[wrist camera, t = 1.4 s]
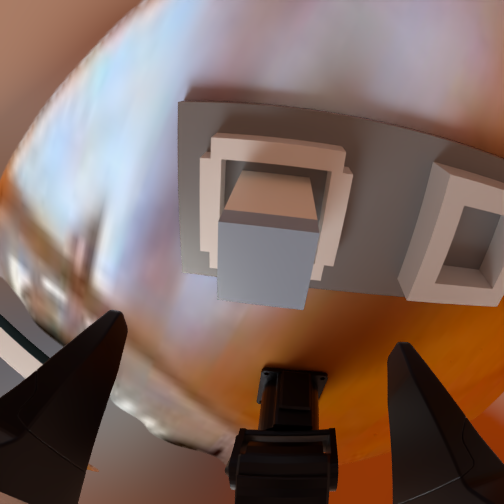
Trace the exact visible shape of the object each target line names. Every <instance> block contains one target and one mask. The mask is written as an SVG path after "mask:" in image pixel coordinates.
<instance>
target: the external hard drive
mask: <svg viewBox="0 0 504 504" xmlns="http://www.w3.org/2000/svg"><path fill="white" fill-rule="evenodd" d="M0 357H1V358H2V359H3V360H4V361H5V362H7V363H8V364H9V365H10V366H11V367H12V368H14V369H15V370H16V371H17V372H18V373H19V374H21V375H22V376H23V377H24V378H25V379H26V378H27V377H28V376H30V375H31V374H32V373H33V372H34V371H37V369H38V368H39V367H40V366H42V365H43V364H44V363H45V362H46V361H48V360H49V359H50V358H49V357H48V356H47V355H46V354H44V353H43V352H42V351H41V350H39V349H38V348H37V347H36V346H35V345H34V344H32V343H31V342H30V341H29V340H28V339H26V337H24V336H23V335H22V334H21V333H20V332H19V331H18V330H17V329H16V328H15V327H13V326H12V325H11V324H10V323H9V322H8V321H7V320H6V319H5V318H4V317H3V316H2V315H0ZM105 409H106V408H105Z"/></svg>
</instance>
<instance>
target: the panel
mask: <svg viewBox="0 0 504 504" xmlns="http://www.w3.org/2000/svg"><path fill="white" fill-rule="evenodd" d="M242 170H244V171H255V172H265V173H274V174H283V175H292V176H300V177H308V178H310V182H311V187H312V192H313V198H314V203H315V209H316V214H317V220H318V226H319V232H320V234H319V240H318V245H317V250H316V255H315V260H314V264H313V269H312V274H311V279H310V283H309V288H316V289H326V290H335V291H345V292H356V293H366V294H377V295H388V296H399V297H405V298H406V300H407V301H417V302H430V303H445V304H460V305H476V306H494V307H497V306H498V304H499V302H500V300H501V298H502V297H503V295H504V158H501V157H499V156H496V155H493V154H491V153H488V152H485V151H482V150H480V149H477V148H474V147H471V146H468V145H465V144H462V143H459V142H456V141H453V140H449V139H446V138H443V137H439V136H436V135H432V134H429V133H425V132H422V131H418V130H414V129H410V128H406V127H402V126H398V125H394V124H389V123H385V122H380V121H376V120H371V119H366V118H361V117H355V116H350V115H344V114H339V113H332V112H326V111H319V110H312V109H305V108H297V107H288V106H279V105H269V104H257V103H243V102H223V101H180V102H178V194H179V222H180V242H181V259H182V272H183V273H191V274H198V275H206V276H214V277H217V263H218V221H219V219H220V217H221V214H222V212H223V210H224V208H225V206H226V204H227V201H228V199H229V197H230V195H231V193H232V191H233V189H234V187H235V184H236V182H237V180H238V178H239V176H240V174H241V172H242Z"/></svg>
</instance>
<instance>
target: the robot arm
mask: <svg viewBox="0 0 504 504" xmlns="http://www.w3.org/2000/svg"><path fill="white" fill-rule="evenodd" d="M127 333H128V328H127V325H126V322H125V319H124V315H123V313H122V312H120V311H116V310H110V311H108V312H107V313H105V314H104V315H103V316H102V317H100V318H99V319H98V320H97V321H95V322H94V323H93V324H92V325H90V326H89V327H88V328H87V329H85V330H84V331H83V332H82V333H80V334H79V335H78V336H77V337H75V338H74V339H73V340H72V341H71V342H69V343H68V344H67V345H66V346H64V347H63V348H62V349H61V350H60V351H58V352H57V353H56V354H55V355H54V356H52V357H51V358H50V359H49V360H48V361H46V362H45V363H44V364H43V365H42V366H40V367H39V368H38V369H37V371H34V372H33V373H32V374H31V375H30V376H28V377H27V378H26V379H25V380H23V381H22V382H21V383H20V384H19V385H17V386H16V387H14V388H13V389H12V390H10V391H9V392H8V393H6V394H5V395H3V396H2V397H1V398H0V504H78V501H79V497H80V493H81V489H82V485H83V481H84V478H85V474H86V470H87V466H88V463H89V459H90V456H91V452H92V449H93V446H94V442H95V438H96V436H97V433H98V429H99V426H100V423H101V420H102V417H103V414H104V411H105V408H106V405H107V402H108V399H109V396H110V393H111V390H112V387H113V385H114V382H115V379H116V376H117V373H118V369H119V365H120V361H121V357H122V353H123V349H124V345H125V341H126V337H127ZM387 368H388V412H389V423H390V436H391V452H392V474H393V475H392V477H393V504H504V464H503V463H502V461H501V460H500V459H499V458H498V457H497V456H496V454H495V453H494V452H493V451H492V450H491V449H490V447H489V446H488V445H487V444H486V442H485V441H484V440H483V439H482V438H481V436H480V435H479V434H478V432H477V431H476V430H475V429H474V427H473V426H472V424H471V423H470V421H469V420H468V419H467V418H466V416H465V415H464V413H463V412H462V410H461V409H460V408H459V406H458V405H457V404H456V402H455V401H454V400H453V398H452V397H451V395H450V394H449V393H448V391H447V390H446V389H445V387H444V386H443V385H442V383H441V382H440V381H439V380H438V378H437V377H436V376H435V374H434V373H433V372H432V370H431V369H430V368H429V367H428V365H427V364H426V363H425V361H424V360H423V359H422V358H421V356H420V355H419V354H418V353H417V351H416V350H415V349H414V347H413V346H412V345H411V344H410V343H408V342H398V343H397V344H396V345H395V347H394V349H393V350H392V352H391V354H390V355H389V357H388V362H387ZM327 379H328V375H327V373H323V372H309V371H296V370H285V369H275V368H263V369H262V371H261V378H260V384H259V390H258V396H257V403H258V404H261V409H260V418H259V427H258V430H247V429H245V428H240V431H239V434H238V435H237V436H236V439H235V444H234V447H233V451H232V454H231V457H230V459H229V461H228V464H227V466H226V468H225V473H226V475H227V476H228V477H229V481H230V487H231V489H232V490H235V504H328V500H329V491H336V489H337V483H338V455H337V444H336V433H335V428H329V429H323V430H319V408H318V400H319V397H320V395H321V393H322V391H323V388H324V386H325V384H326V382H327ZM323 452H325V453H323Z"/></svg>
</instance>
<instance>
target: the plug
mask: <svg viewBox="0 0 504 504" xmlns="http://www.w3.org/2000/svg"><path fill="white" fill-rule="evenodd" d="M319 234H320V232H319V226H318V220H317V214H316V209H315V203H314V198H313V192H312V187H311V182H310V178H308V177H300V176H292V175H283V174H274V173H265V172H255V171H244V170H242V172H241V174H240V176H239V178H238V180H237V182H236V184H235V187H234V189H233V191H232V193H231V195H230V197H229V199H228V201H227V204H226V206H225V208H224V210H223V212H222V214H221V217H220V219H219V221H218V263H217V300H224V301H232V302H239V303H247V304H255V305H264V306H272V307H281V308H291V309H300V310H304V306H305V301H306V297H307V292H308V288H309V283H310V279H311V274H312V269H313V264H314V260H315V255H316V250H317V245H318V240H319Z"/></svg>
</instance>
